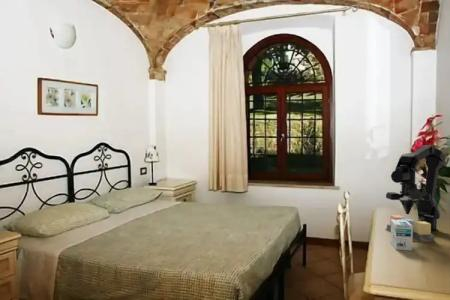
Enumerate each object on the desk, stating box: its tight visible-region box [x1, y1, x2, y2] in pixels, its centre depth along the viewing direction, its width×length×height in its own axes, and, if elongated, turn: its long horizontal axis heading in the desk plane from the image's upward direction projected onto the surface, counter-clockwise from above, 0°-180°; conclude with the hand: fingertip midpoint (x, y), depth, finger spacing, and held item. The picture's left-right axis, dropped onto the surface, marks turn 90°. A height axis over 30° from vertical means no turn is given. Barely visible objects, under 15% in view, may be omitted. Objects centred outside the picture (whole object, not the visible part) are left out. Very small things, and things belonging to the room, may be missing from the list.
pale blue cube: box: [400, 218, 416, 231], centre depth 181 cm, size 5×5×5 cm
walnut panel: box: [385, 224, 435, 243], centre depth 182 cm, size 12×21×3 cm, turn 3°
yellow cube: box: [414, 221, 432, 235], centre depth 175 cm, size 5×5×5 cm
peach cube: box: [389, 214, 406, 225], centre depth 188 cm, size 5×5×5 cm
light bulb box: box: [390, 219, 413, 251], centre depth 164 cm, size 11×7×11 cm, turn 168°
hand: (407, 214), depth 181 cm, fingers closed
